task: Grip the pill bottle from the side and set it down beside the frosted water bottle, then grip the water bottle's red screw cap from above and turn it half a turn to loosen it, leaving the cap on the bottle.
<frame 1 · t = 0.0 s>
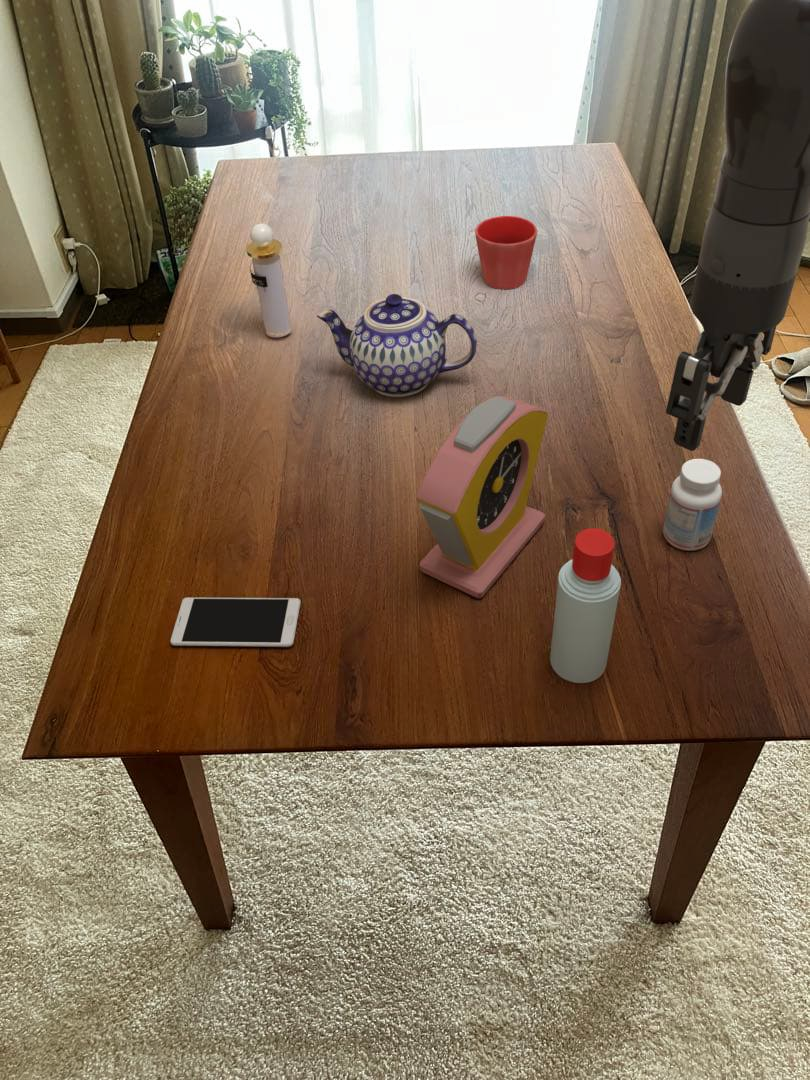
hand: (709, 422, 82), 32 cm above the table, tool pointing down, fingers open, 8 cm apart
flower pot: (504, 280, 165), on the table
teapot: (399, 379, 144), on the table
cap: (594, 544, 89), point 19 cm above the table, screwed on, not yet turned
pink desk clock: (483, 547, 117), on the table
perfume bottle: (279, 334, 155), on the table
smartphone: (237, 624, 109), on the table
water bottle: (578, 660, 103), on the table
pill bottle: (685, 536, 116), on the table
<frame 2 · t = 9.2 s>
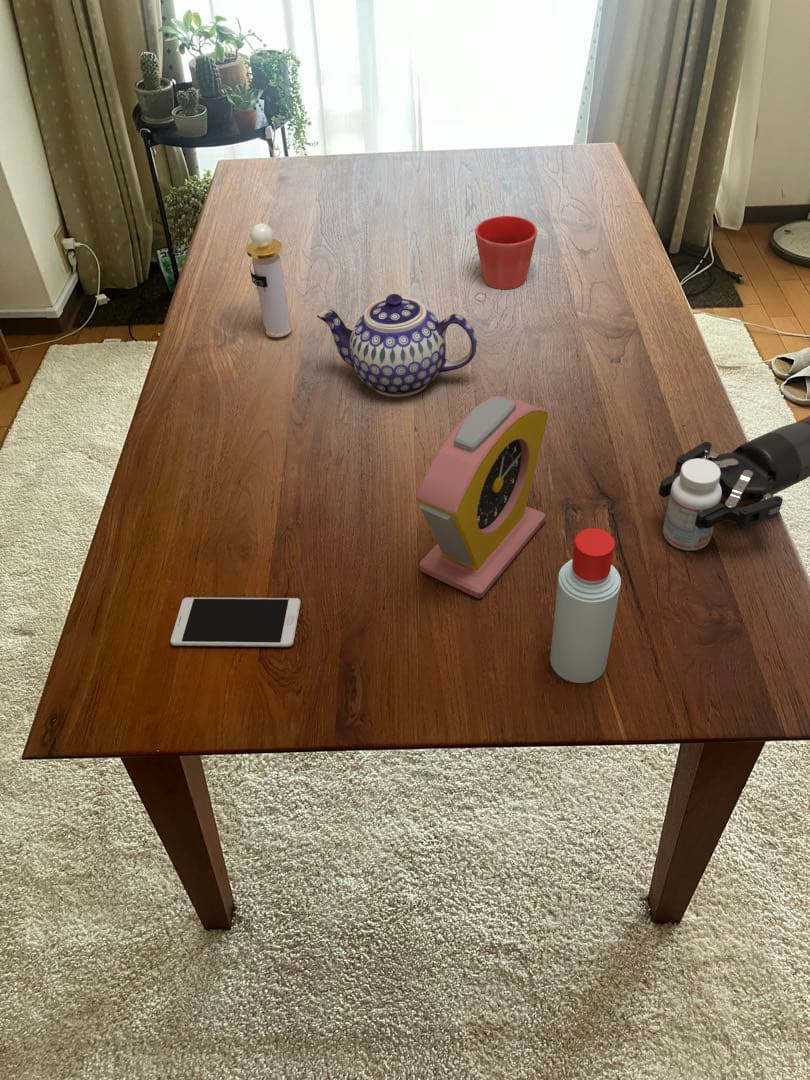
hand: (679, 506, 111), 7 cm above the table, tool horizontal, fingers closed on pill bottle, 6 cm apart
pill bottle: (685, 536, 116), on the table, touching gripper
everything else where it was.
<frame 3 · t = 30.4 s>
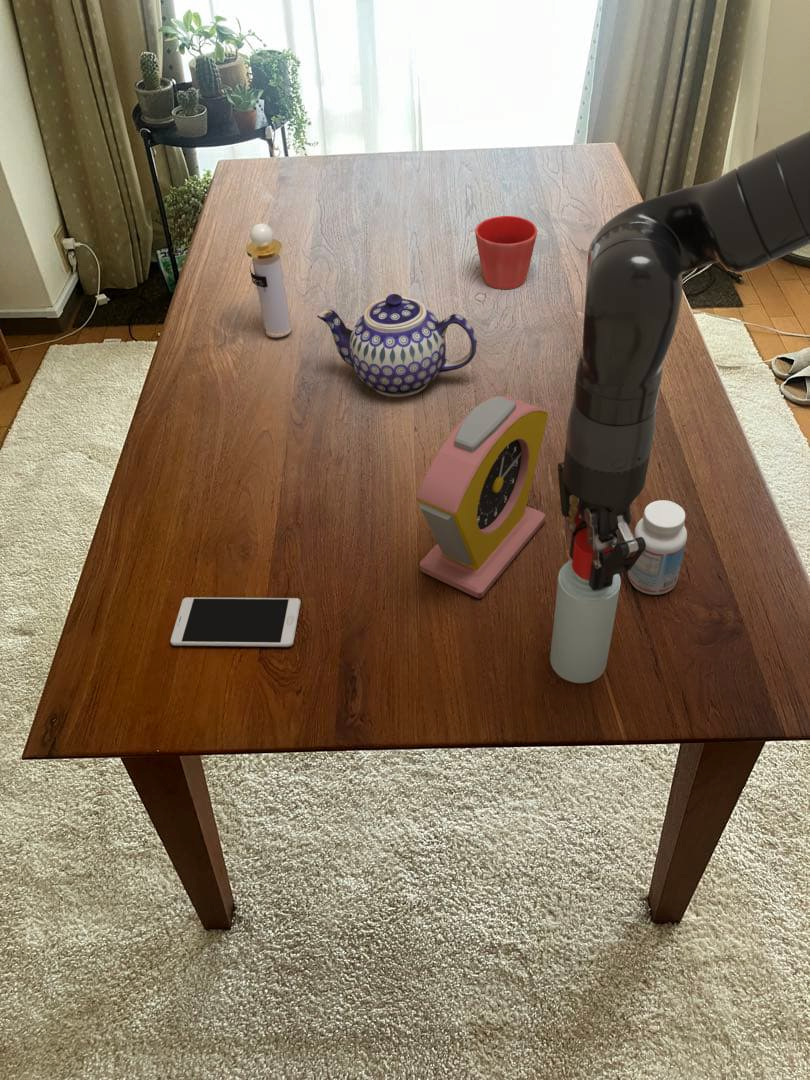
hand: (589, 570, 92), 15 cm above the table, tool pointing down, fingers closed on cap, 3 cm apart
cap: (594, 543, 89), point 19 cm above the table, turned 180° so far, risen 0.2 cm, still on its thread, touching gripper
water bottle: (578, 660, 103), on the table, touching gripper
pill bottle: (651, 579, 111), on the table
everything else where it was.
when the fingers open (15 cm above the table, at t = 32.0 s): cap stays where it is, point 19 cm above the table.
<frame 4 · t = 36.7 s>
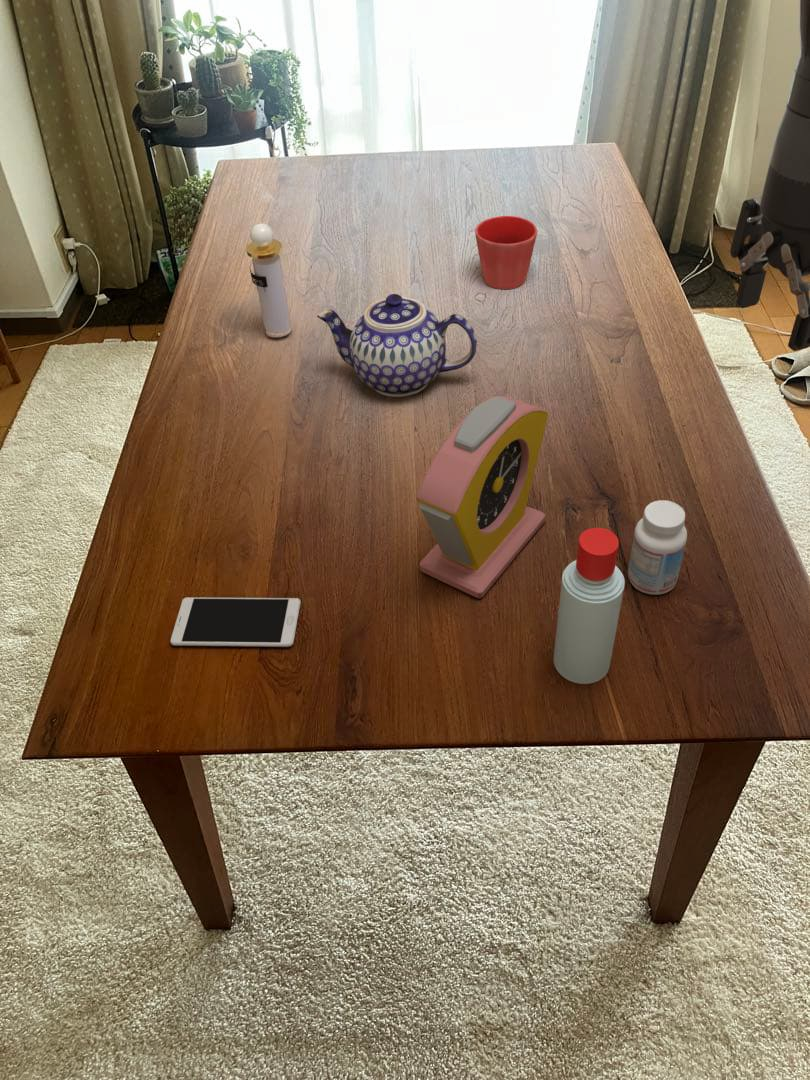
hand: (771, 325, 88), 34 cm above the table, tool pointing down, fingers open, 8 cm apart
cap: (598, 544, 89), point 19 cm above the table, turned 180° so far, risen 0.2 cm, still on its thread
water bottle: (581, 661, 103), on the table
everything else where it was.
at the end: pill bottle inside the target area (0.1 cm from its centre), on the table; cap turned 0.50 turns (still on its thread); cap is still on its thread (0.50 turns) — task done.
